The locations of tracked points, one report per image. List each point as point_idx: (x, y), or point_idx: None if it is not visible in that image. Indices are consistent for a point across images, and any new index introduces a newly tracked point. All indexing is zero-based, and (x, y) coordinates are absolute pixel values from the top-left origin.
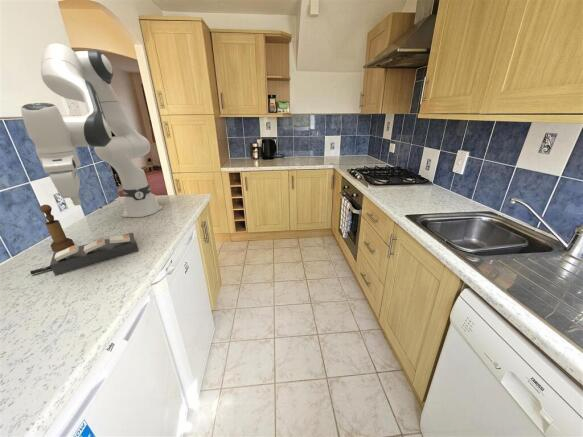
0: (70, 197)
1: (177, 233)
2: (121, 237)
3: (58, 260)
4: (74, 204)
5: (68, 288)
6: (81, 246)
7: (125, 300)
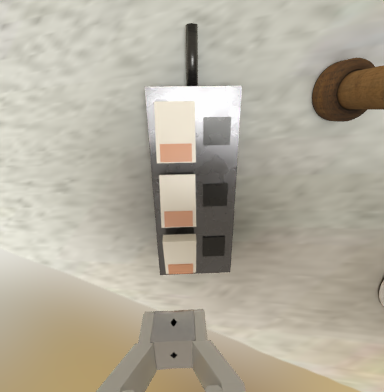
0: (106, 380)
1: None
2: (178, 261)
3: None
4: (143, 318)
5: (60, 127)
6: (229, 159)
7: None
